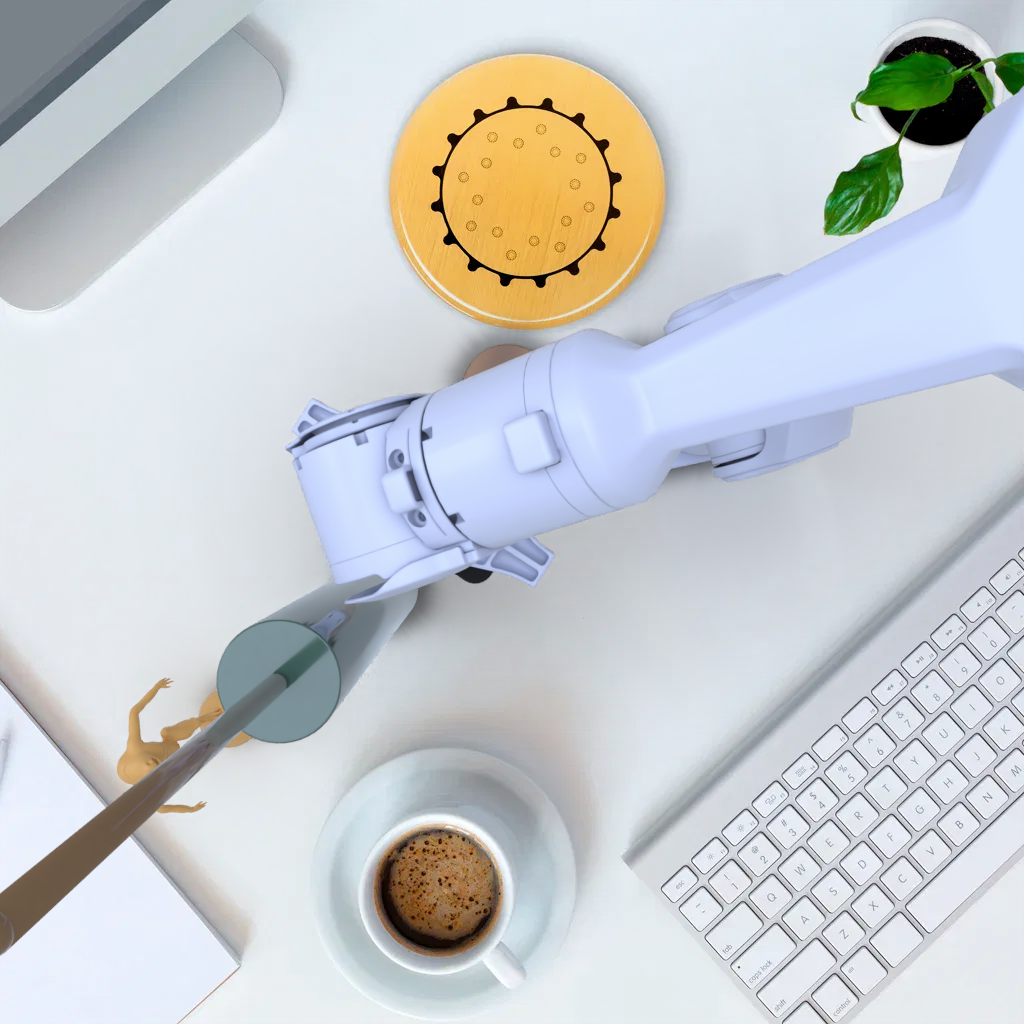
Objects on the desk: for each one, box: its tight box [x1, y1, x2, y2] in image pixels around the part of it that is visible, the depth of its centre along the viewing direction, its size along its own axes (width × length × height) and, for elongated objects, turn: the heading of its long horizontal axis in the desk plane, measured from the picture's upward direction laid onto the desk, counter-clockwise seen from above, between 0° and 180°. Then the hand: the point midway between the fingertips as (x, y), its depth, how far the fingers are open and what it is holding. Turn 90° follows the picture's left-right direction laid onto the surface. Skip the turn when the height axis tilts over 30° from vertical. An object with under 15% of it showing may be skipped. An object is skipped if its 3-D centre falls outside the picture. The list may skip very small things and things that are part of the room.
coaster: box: [463, 344, 532, 380], centre depth 64 cm, size 6×6×1 cm
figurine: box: [116, 677, 252, 814], centre depth 59 cm, size 8×6×12 cm
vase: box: [0, 575, 419, 957], centre depth 40 cm, size 5×5×50 cm
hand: (437, 491), depth 57 cm, fingers closed on pot, 5 cm apart
